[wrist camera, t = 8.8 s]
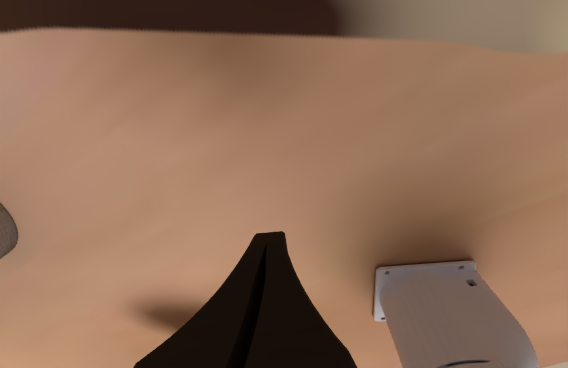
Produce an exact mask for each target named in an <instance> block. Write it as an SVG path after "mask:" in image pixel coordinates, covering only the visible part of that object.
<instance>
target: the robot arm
mask: <svg viewBox="0 0 568 368" xmlns="http://www.w3.org/2000/svg"><path fill="white" fill-rule="evenodd" d="M476 269H477V264H476V263H475V261H457V262H443V263H429V264H416V265H402V266H388V267H379V268H377V269H376V276H375V293H374V310H373V318H374V320H375V321H386V322H387V324H388V327H389V330H390V333H391V336H392V339H393V341H394V344H395V347H396V350H397V353H398V356H399V358H400V361H401V364H402V367H403V368H539V365H538V359H537V356H536V353H535V350H534V348H533V345H532V343H531V341H530V339H529V337H528V336H527V334H526V332H525V331H524V329H523V328H522V326H521V325H520V324H519V322H518V321H517V320H516V319H515V317H514V316H513V315H512V314H511V313H510V311H509V310H508V309H507V308H506V307H505V305H504V304H503V303H502V302H501V301H500V299H499V298H498V297H497V296H496V295H495V293H494V292H493V291H492V290H491V289H490V287H489V286H488V285H487V284H486V283H485V281H484V280H483V279H482V278H481V277H480V275H479V274H478V273H477V272H476ZM386 271H387V272H386ZM134 368H357V366H356V364H355V362H354V360H353V358H352V357H351V355H350V353H349V351H348V350H347V348H346V347H345V346H344V345H343V344H342V343H341V341H340V340H339V339H338V338H337V337H336V335H335V334H334V333H333V332H332V330H331V329H330V328H329V326H328V325H327V324H326V322H325V321H324V320H323V318H322V317H321V315H320V314H319V312H318V311H317V309H316V308H315V307H314V305H313V304H312V302H311V300H310V299H309V297H308V295H307V294H306V292H305V290H304V288H303V287H302V285H301V283H300V281H299V279H298V277H297V274H296V272H295V270H294V268H293V265H292V263H291V260H290V258H289V255H288V251H287V244H286V238H285V233H284V232H282V231H280V232H269V233H258V234H256V235H255V236H254V237H253V239H252V241H251V243H250V245H249V246H248V248H247V250H246V251H245V253H244V255H243V256H242V258H241V259H240V261H239V262H238V264H237V265H236V267H235V268H234V270H233V271H232V272H231V274H230V275H229V276H228V278H227V279H226V280H225V282H224V283H223V284H222V286H221V287H220V288H219V289H218V290H217V292H216V293H215V294H214V295H213V296H212V297H211V299H210V300H209V301H208V302H207V303H206V304H205V305H204V306H203V307H202V308H201V309H200V310H199V311H198V312H197V313H196V314H195V315H194V316H193V317H192V318H191V319H190V320H189V321H188V322H187V323H186V324H185V325H184V326H182V327H181V328H180V329H179V330H178V331H177V332H176V333H174V334H173V335H172V336H171V337H170V338H168V339H167V340H166V341H165V342H164V343H162V344H161V345H160V346H158V347H157V348H156V349H154V350H153V351H152V352H151V353H149V354H148V355H147V356H145V357H144V358H143V359H141V360H140V361H138V362H137V363H136V364H135V366H134Z"/></svg>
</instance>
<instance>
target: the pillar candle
mask: <svg viewBox="0 0 568 368" xmlns="http://www.w3.org/2000/svg"><path fill="white" fill-rule="evenodd" d="M17 239H18V232H17V228H16V225H15V223H14V220H13V218H12V217H11V216H10V214H9V213H8V211H7V210H5V208H4V207H3V205H2V204H0V259H1V258H2V257H4V256H5V255H6V254H8V253H9V252H10V251H11V250H12V249H13V248H14V247H15V245H16V244H17Z"/></svg>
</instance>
